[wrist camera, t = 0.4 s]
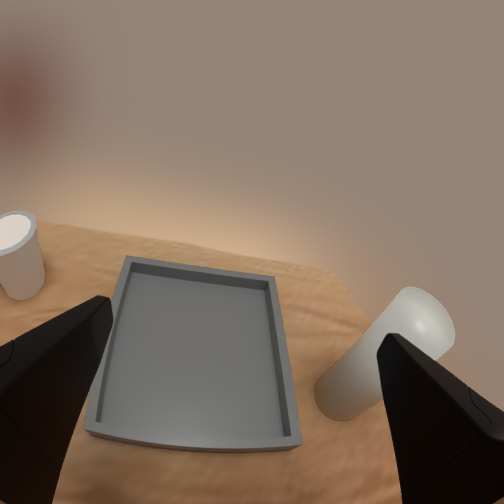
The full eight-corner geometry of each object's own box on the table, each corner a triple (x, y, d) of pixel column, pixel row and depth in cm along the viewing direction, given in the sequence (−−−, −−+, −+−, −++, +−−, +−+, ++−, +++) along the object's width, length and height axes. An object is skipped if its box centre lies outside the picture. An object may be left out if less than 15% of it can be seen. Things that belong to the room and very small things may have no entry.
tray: (290, 449, 19) (302, 444, 18) (91, 435, 16) (83, 428, 14) (268, 291, 33) (274, 276, 31) (127, 272, 29) (126, 255, 28)
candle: (368, 416, 23) (464, 347, 15) (319, 424, 22) (416, 354, 14) (356, 370, 27) (434, 289, 19) (310, 372, 26) (385, 283, 18)
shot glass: (58, 263, 27) (47, 212, 22) (36, 311, 22) (15, 260, 17) (15, 254, 25) (1, 206, 21) (-9, 297, 20) (-32, 249, 16)
